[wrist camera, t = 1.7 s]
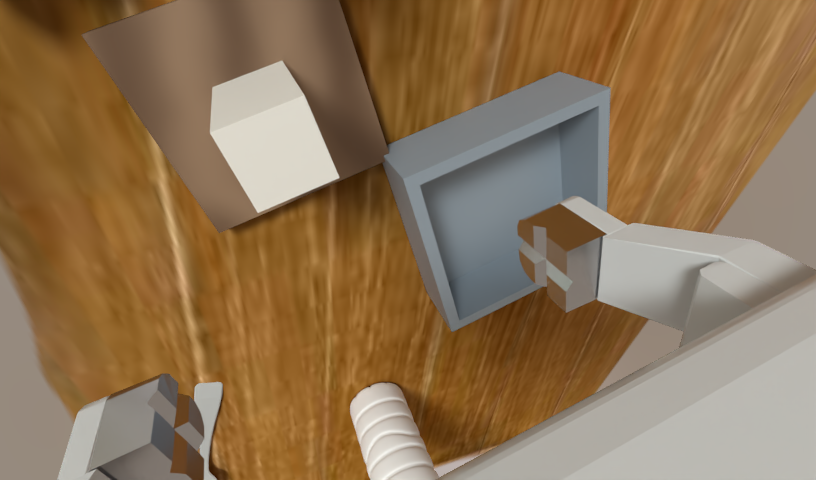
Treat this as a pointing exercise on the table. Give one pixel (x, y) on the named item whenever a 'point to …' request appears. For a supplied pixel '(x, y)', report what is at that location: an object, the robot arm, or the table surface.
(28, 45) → the table surface
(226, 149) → the ivory rectangular pillar
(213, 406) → the fork
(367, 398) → the water bottle
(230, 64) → the walnut base
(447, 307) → the slate bin
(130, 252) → the table surface
